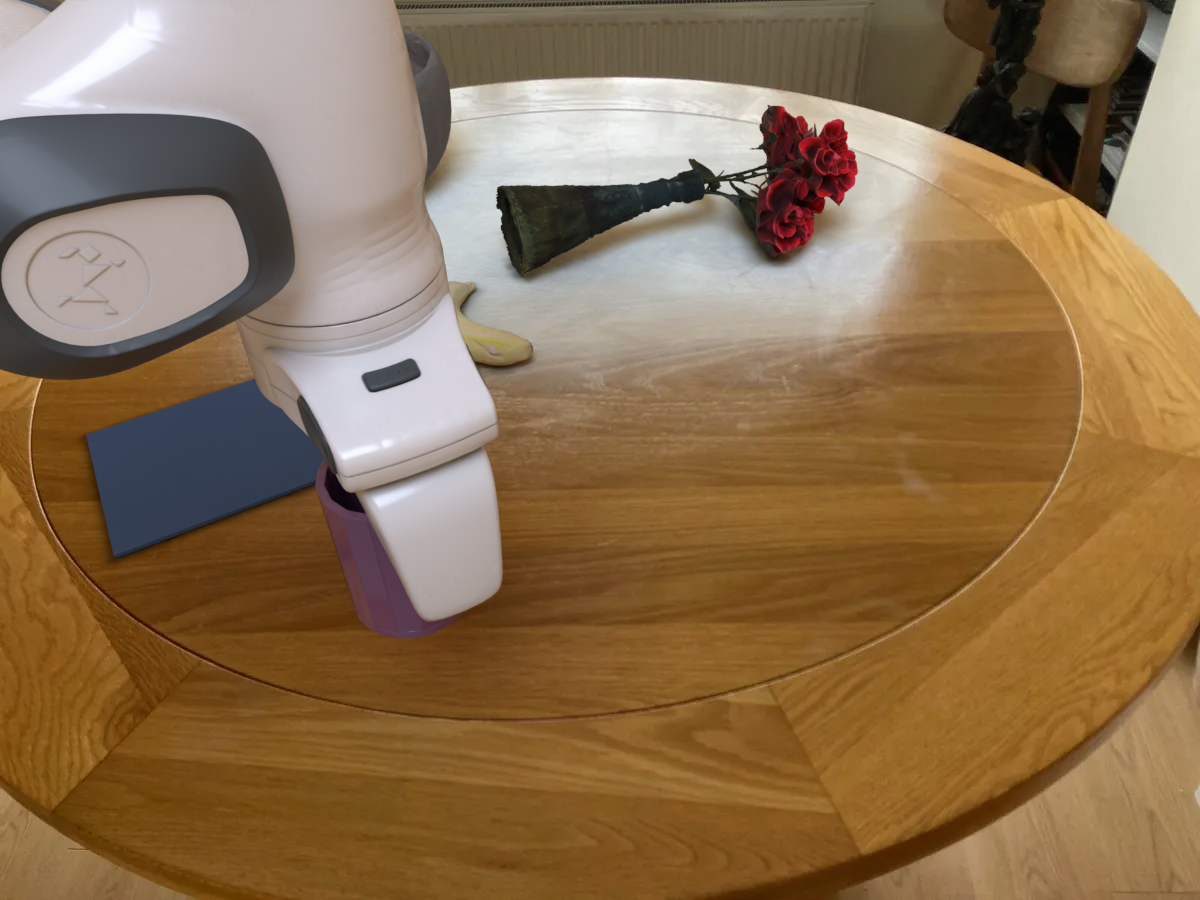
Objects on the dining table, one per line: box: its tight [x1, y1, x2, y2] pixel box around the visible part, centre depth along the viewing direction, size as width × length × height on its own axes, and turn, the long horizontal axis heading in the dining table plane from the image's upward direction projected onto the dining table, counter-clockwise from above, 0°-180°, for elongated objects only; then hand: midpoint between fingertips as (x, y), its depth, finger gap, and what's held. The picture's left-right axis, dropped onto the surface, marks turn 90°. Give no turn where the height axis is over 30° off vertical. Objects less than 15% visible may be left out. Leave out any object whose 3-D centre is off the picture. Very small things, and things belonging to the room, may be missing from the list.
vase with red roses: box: [495, 104, 859, 276], centre depth 97 cm, size 16×18×35 cm
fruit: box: [448, 280, 534, 366], centre depth 90 cm, size 7×15×3 cm, turn 28°
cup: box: [314, 460, 466, 640], centre depth 50 cm, size 7×7×9 cm
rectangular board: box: [85, 378, 324, 559], centre depth 81 cm, size 22×16×1 cm
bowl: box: [402, 28, 453, 181], centre depth 109 cm, size 24×24×15 cm
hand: (404, 544), depth 50 cm, fingers closed on cup, 7 cm apart
